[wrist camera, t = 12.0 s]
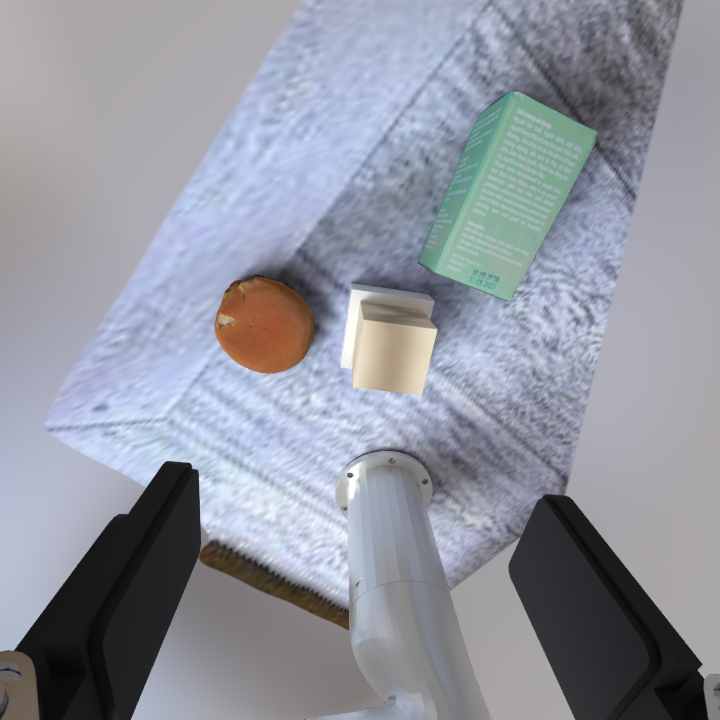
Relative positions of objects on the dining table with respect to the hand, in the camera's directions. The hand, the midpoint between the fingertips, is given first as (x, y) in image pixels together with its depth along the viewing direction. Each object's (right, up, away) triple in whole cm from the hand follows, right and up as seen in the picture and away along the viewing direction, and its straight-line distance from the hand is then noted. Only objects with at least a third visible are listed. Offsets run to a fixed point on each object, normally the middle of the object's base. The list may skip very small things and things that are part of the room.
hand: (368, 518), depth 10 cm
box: (+11, +19, +24) cm, 32 cm away
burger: (-10, +9, +27) cm, 30 cm away
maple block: (+2, +7, +25) cm, 26 cm away
